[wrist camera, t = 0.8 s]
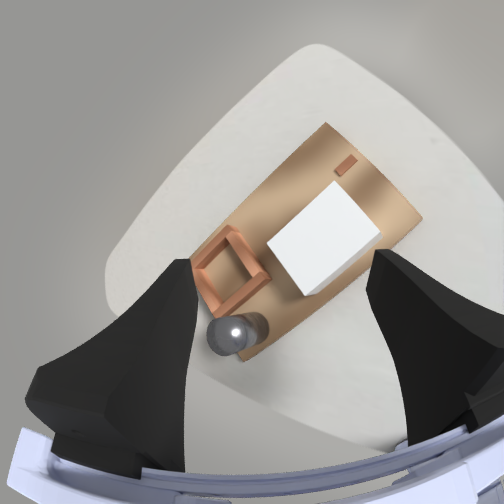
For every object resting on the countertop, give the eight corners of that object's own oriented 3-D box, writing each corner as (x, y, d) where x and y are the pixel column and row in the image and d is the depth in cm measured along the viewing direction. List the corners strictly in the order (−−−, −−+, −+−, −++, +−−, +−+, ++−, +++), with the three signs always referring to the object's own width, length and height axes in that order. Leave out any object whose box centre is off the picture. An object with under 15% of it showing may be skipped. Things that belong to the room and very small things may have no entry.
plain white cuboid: (383, 237, 21) (380, 231, 18) (316, 293, 23) (304, 295, 20) (343, 191, 22) (334, 180, 20) (282, 247, 25) (266, 243, 22)
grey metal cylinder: (275, 332, 24) (246, 343, 20) (251, 350, 25) (219, 362, 21) (257, 305, 25) (224, 309, 21) (234, 323, 26) (200, 330, 22)
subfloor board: (422, 220, 20) (424, 213, 18) (248, 359, 26) (234, 365, 24) (328, 126, 24) (321, 113, 22) (190, 263, 31) (174, 262, 29)
